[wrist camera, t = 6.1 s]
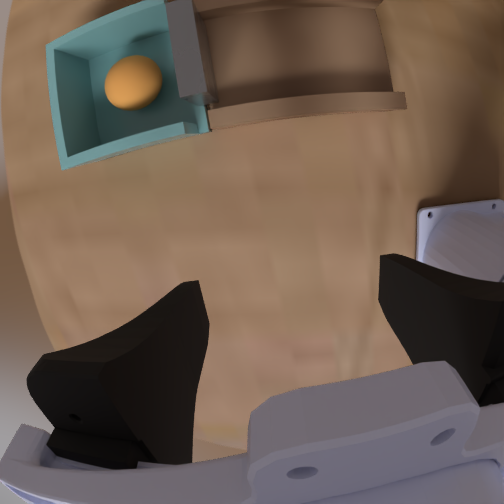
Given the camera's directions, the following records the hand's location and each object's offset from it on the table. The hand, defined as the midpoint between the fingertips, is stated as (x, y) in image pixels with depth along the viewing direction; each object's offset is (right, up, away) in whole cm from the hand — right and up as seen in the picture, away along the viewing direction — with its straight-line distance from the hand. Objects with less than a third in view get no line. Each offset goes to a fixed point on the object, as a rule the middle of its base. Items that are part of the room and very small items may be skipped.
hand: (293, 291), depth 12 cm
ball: (-9, +11, +3) cm, 15 cm away
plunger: (-4, +12, +3) cm, 13 cm away
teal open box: (-9, +12, +5) cm, 16 cm away
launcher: (+1, +14, +5) cm, 14 cm away
